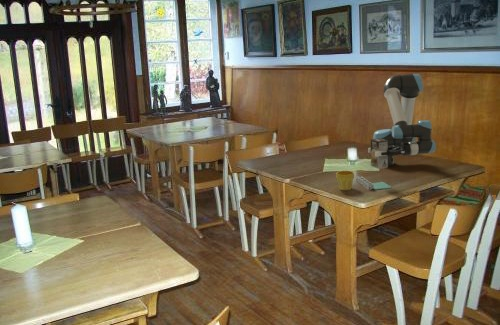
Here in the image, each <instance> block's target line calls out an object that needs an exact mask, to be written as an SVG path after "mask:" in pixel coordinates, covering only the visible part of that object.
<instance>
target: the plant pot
mask: <svg viewBox="0 0 500 325" xmlns="http://www.w3.org/2000/svg"><path fill="white" fill-rule="evenodd" d="M335 176H336V180H337V182H338V185H339V186H338V187H339V189H340V190H341V191H350V190H352V187H353V181H354V179H355V172H354V171H351V170H340V171H337V172H336V174H335Z"/></svg>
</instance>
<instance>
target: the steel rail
mask: <svg viewBox="0 0 500 325" xmlns="http://www.w3.org/2000/svg"><path fill="white" fill-rule="evenodd" d="M356 182H357V183H359V184H360V185H361V186H363V187H364V188H365V189H367V190H368V191H370V190H371V191H372V189H374V184H372V183H373V182H371V181H369V180H368V179H366V178H365V177H363V175H357V176H356ZM374 190H375V189H374Z"/></svg>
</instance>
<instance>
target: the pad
mask: <svg viewBox="0 0 500 325" xmlns="http://www.w3.org/2000/svg"><path fill="white" fill-rule="evenodd" d="M371 183H372V184H374V190H375V191H378V190H387V189H388V190H389V189H392V186H391V185H389V184H387V183H386V182H384V181H380V182H371Z"/></svg>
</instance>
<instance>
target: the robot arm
mask: <svg viewBox="0 0 500 325" xmlns="http://www.w3.org/2000/svg"><path fill="white" fill-rule="evenodd" d="M383 85H384V86H383V90H382V91H383V95H384V96H383V97H384V98H385V99H386V100H387V105H388V108H389V112H390V116H391V120H392V123H393V125H392V127H391V129H388V128H387V129H385V128H384V129H378V130H376V131H375V132H374V133H373V138H372V139H376V138H381V139H384V140H387V141H388V150H387V151H377V152H375V157H377V156H388V167H389V166H393V165H394V164H395V161H394V160H395V159H394V156H400V155H402V156H403V157H404V156H415V155H423V154H424V155H425V154H433V153H434V152H435V151H436V148H437V145H436V141H435V140H433V139H432V130H433V129H432V122H431V120H428V119H423V120H418V121H417V124H413V118H414V110H415V106H416V99H417V98H418V97H419V93H422V92H423V90H424V82H423V78H422V75H420V74H419V73H408V74H395V75H392V76H390V77H389V78H388V79H387V80H386V81H385V82H384V84H383ZM416 138H417V141H415V140H416ZM367 152H368V154H369V153H370V154H371V147H368V150H367Z"/></svg>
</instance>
